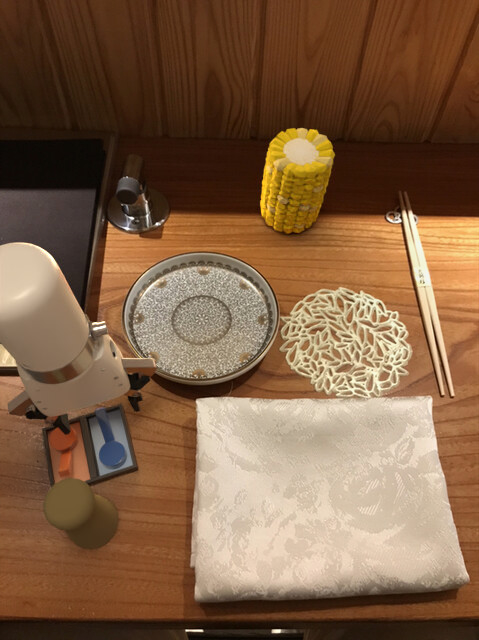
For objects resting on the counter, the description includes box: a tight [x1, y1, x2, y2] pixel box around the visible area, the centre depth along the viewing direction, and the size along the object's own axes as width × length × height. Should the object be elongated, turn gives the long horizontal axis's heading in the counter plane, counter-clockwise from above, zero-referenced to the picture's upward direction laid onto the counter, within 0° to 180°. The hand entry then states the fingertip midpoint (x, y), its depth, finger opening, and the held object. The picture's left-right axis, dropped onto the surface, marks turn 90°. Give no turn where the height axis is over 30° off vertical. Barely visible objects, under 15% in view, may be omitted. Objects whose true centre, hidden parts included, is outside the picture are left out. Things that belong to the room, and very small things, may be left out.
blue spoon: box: [94, 406, 127, 469], centre depth 69 cm, size 7×3×4 cm, turn 18°
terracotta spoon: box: [50, 427, 78, 477], centre depth 68 cm, size 7×3×4 cm, turn 18°
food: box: [259, 127, 336, 235], centre depth 83 cm, size 15×12×10 cm
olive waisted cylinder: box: [42, 478, 120, 550], centre depth 61 cm, size 6×6×11 cm
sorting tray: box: [41, 402, 139, 488], centre depth 70 cm, size 10×9×1 cm
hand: (101, 412), depth 70 cm, fingers open, 8 cm apart
